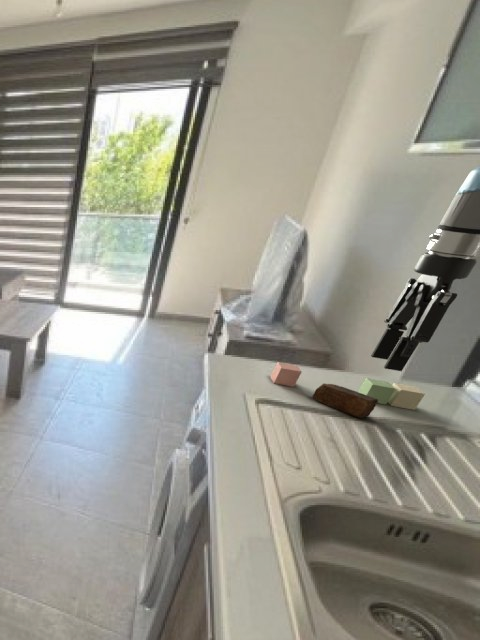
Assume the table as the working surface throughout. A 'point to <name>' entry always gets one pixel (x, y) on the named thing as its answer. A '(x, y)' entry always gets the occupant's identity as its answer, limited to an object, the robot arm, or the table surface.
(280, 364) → the cube rose
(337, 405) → the brick
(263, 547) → the table surface
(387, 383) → the cube sage
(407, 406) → the cube cream
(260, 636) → the table surface
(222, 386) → the table surface
